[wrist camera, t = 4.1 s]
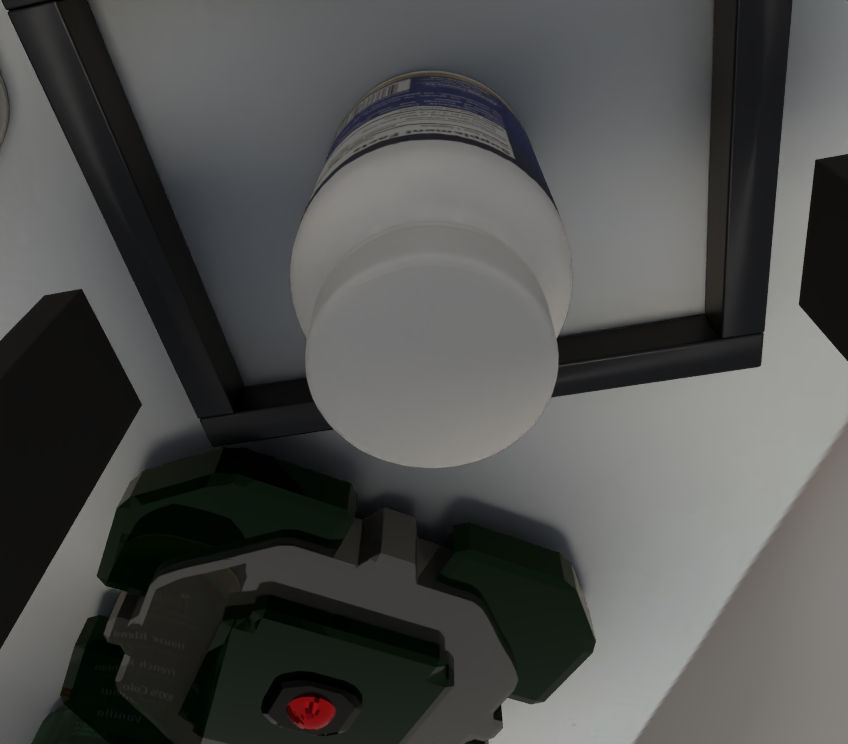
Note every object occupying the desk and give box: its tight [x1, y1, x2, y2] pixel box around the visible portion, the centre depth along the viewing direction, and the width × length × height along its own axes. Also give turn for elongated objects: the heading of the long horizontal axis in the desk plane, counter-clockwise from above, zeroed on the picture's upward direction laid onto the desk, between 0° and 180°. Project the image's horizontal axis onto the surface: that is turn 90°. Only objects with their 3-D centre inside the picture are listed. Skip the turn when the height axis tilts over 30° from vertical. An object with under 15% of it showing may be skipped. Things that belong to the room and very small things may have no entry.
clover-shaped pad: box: [60, 447, 596, 744], centre depth 28 cm, size 18×18×5 cm
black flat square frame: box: [2, 0, 792, 447], centre depth 17 cm, size 17×18×2 cm
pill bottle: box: [290, 70, 573, 468], centre depth 15 cm, size 5×5×10 cm
